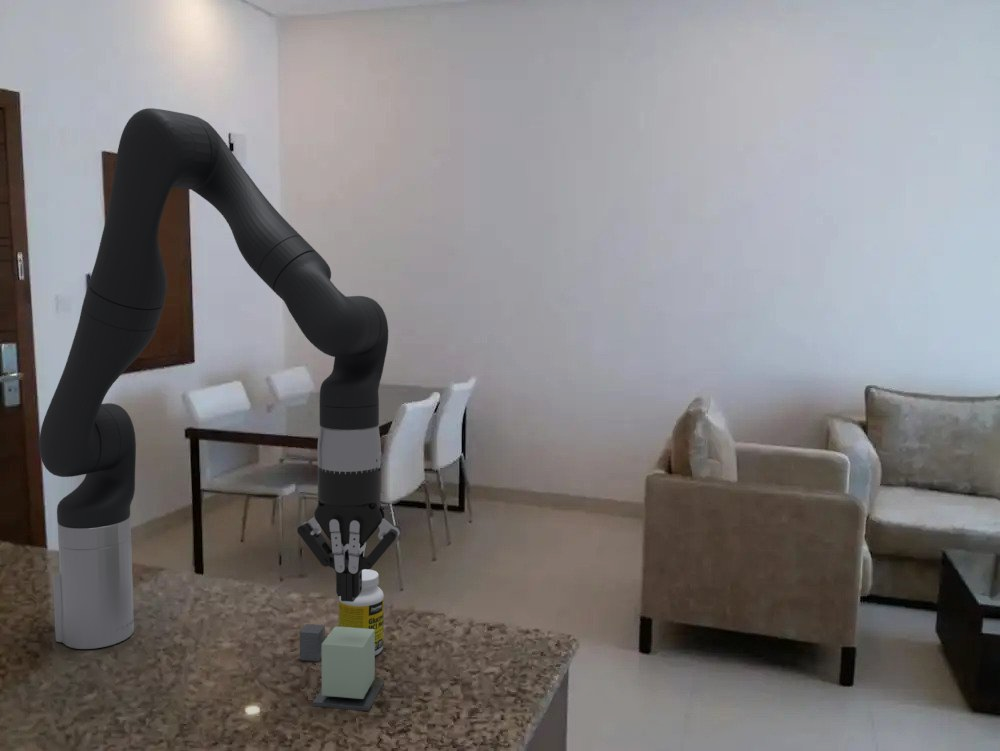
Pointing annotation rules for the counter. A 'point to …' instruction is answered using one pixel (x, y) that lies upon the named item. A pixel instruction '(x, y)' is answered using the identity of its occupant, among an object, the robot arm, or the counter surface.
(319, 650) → the short post
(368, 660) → the pale green block
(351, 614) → the pill bottle
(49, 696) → the counter surface
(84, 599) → the robot arm
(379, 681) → the post on square base
